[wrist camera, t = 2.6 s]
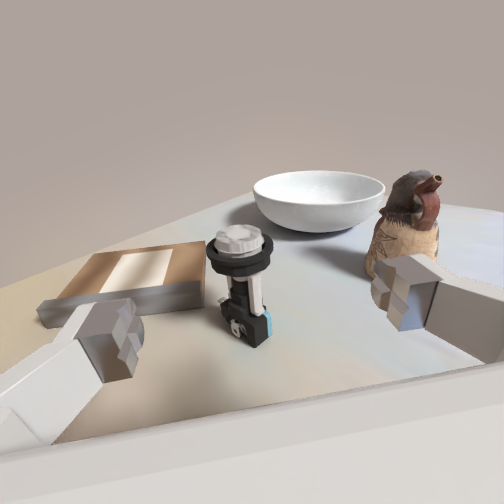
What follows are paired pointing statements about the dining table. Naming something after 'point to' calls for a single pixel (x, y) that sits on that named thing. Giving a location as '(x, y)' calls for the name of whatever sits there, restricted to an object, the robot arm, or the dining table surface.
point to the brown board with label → (135, 281)
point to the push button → (243, 279)
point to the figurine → (407, 220)
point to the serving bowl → (318, 199)
